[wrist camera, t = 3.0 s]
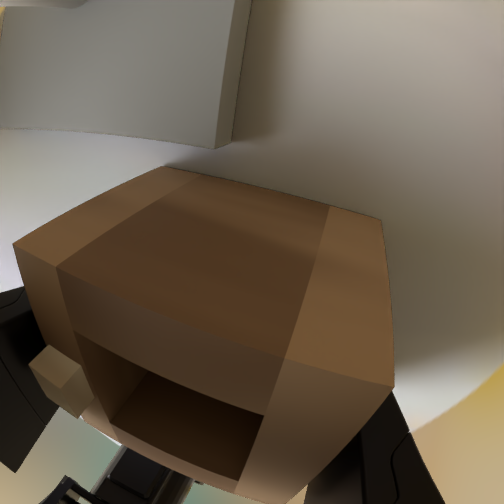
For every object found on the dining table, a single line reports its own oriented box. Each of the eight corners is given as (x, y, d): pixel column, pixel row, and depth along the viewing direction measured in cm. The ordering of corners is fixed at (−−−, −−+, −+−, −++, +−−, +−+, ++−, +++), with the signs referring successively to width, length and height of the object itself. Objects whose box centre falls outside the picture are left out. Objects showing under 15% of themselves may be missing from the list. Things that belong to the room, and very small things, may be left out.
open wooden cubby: (317, 376, 10) (273, 528, 5) (163, 323, 11) (72, 437, 7) (380, 220, 7) (393, 439, 2) (161, 166, 8) (-17, 262, 4)
